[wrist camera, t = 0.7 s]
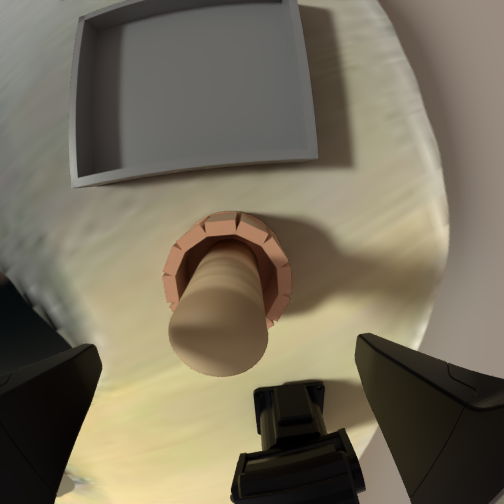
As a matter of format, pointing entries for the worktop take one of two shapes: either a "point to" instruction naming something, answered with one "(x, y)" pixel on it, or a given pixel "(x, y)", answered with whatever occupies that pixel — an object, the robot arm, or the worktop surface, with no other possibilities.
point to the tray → (188, 89)
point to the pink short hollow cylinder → (240, 228)
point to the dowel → (221, 313)
